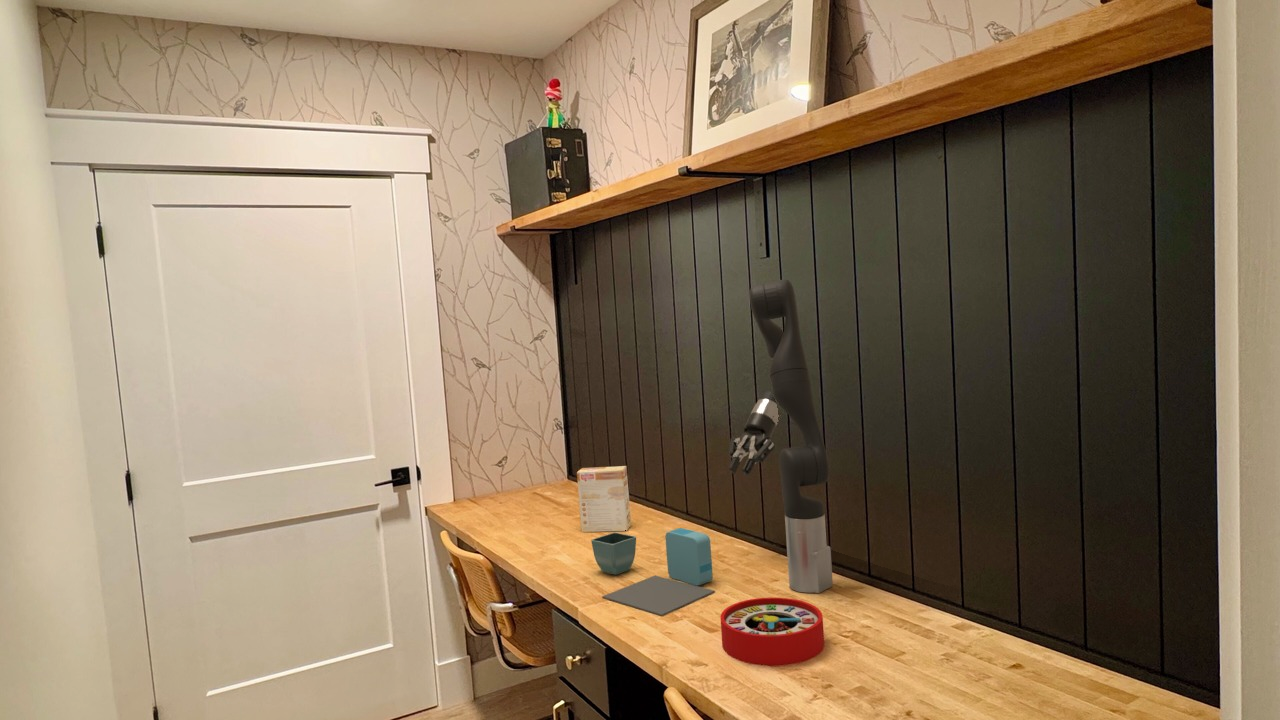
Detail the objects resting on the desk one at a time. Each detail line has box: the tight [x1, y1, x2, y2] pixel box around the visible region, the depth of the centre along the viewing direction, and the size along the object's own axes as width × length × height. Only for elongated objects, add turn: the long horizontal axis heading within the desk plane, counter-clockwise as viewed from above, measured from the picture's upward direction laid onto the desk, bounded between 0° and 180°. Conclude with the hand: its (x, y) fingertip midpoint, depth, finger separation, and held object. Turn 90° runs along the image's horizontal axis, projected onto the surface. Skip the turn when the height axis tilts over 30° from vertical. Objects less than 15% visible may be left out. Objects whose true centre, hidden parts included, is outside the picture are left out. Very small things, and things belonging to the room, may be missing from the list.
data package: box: [665, 527, 714, 587], centre depth 197 cm, size 12×4×12 cm, turn 39°
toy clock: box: [719, 596, 825, 667], centre depth 156 cm, size 20×6×20 cm
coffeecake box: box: [576, 465, 632, 533], centre depth 251 cm, size 15×7×20 cm, turn 80°
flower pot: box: [590, 531, 637, 576], centre depth 208 cm, size 9×9×9 cm
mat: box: [601, 575, 716, 617], centre depth 188 cm, size 20×18×1 cm
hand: (738, 472), depth 206 cm, fingers open, 3 cm apart
